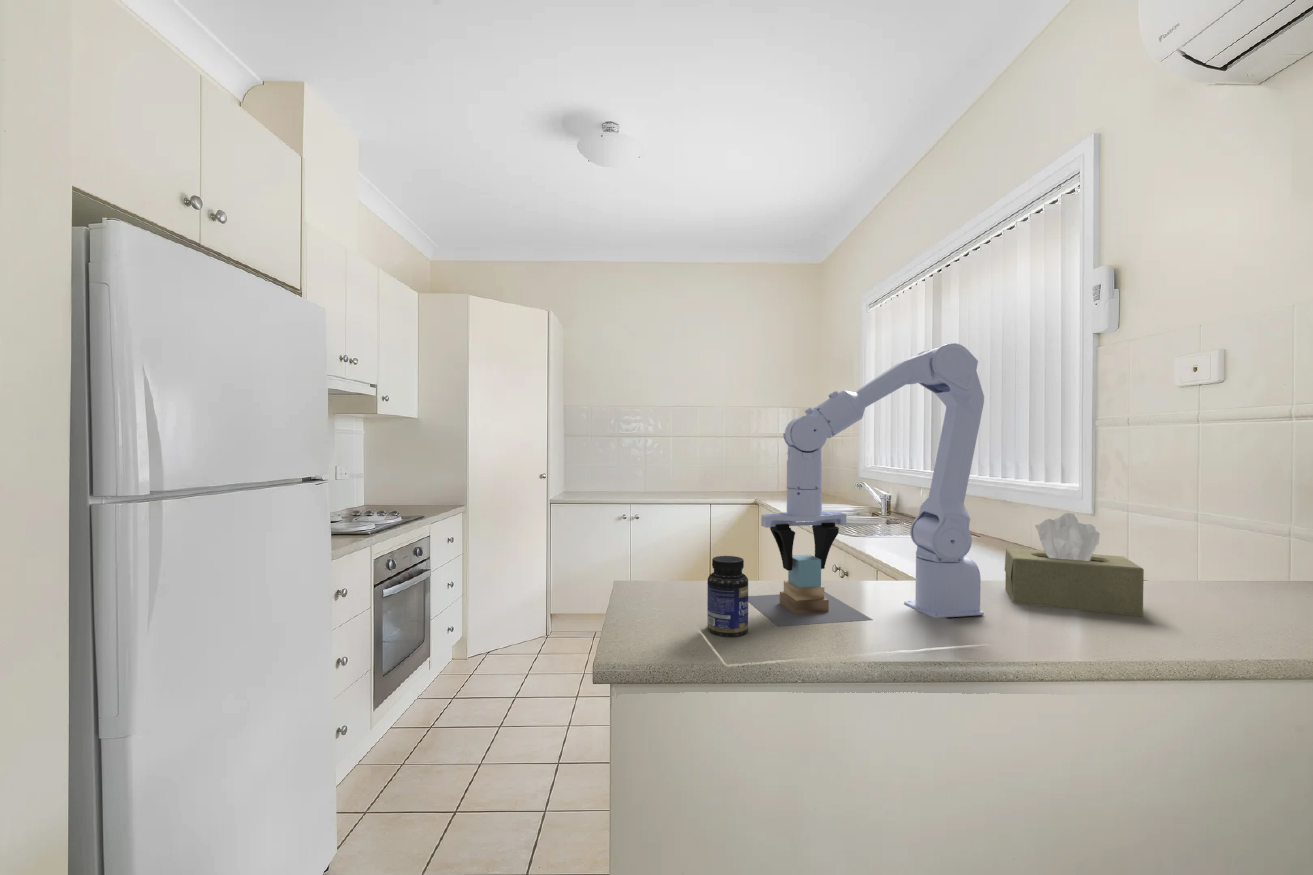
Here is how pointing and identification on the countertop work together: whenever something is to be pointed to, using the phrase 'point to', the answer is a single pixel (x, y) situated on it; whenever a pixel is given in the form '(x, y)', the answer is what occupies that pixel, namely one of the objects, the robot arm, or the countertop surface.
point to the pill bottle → (727, 597)
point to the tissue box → (1073, 572)
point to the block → (805, 571)
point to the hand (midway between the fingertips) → (803, 568)
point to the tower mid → (803, 592)
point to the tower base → (804, 604)
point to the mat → (785, 617)
